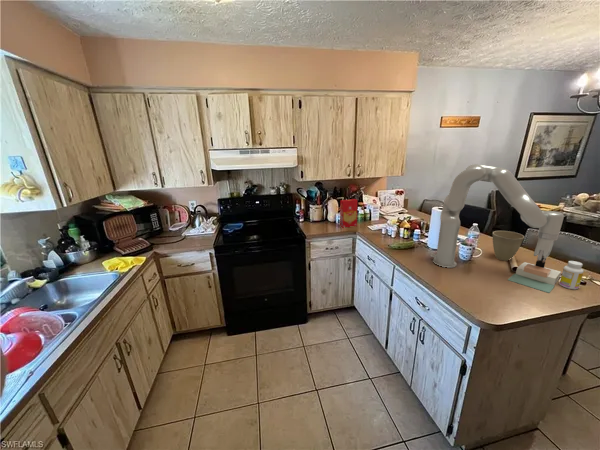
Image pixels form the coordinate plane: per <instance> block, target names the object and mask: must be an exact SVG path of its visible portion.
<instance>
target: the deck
mask: <svg viewBox="0 0 600 450" xmlns="http://www.w3.org/2000/svg"><path fill="white" fill-rule="evenodd" d="M527 264H531V265H535V264H533V263H530V262H526V261H524V262H523V263H521V264H520V265H519V266H518V267H517V268H516V271H515V274H517V275H521V276H524V277H527V278H531V279H534V280H538V281H541V282H544V283H548V284H551V285H555V284H557V282H558V281H559V280H560V278H561V275H562V271H560V270H556V269H552V268H549V267H545V266H544V268H546V269H550V270H551V272H550V275H549V276H548V277H547V278H545V277H542V276H538V275H535V274H531V273H528V272H524V267H525V266H526V265H527Z"/></svg>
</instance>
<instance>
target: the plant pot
mask: <svg viewBox="0 0 600 450" xmlns="http://www.w3.org/2000/svg"><path fill="white" fill-rule="evenodd" d="M524 240H525V236H524V235H523V234H521V233H518V232H515V231H510V230H509V231H508V230H495V231H492V246H493V253H494V256H495V258H496V259H497V260H499V261H505V262H508V260H509V259H510V258H512V257H513V258H514V257H515V255H516V254H517V252H518V251H519V250H520V247H521V245H522V243H523V241H524ZM513 258H512V259H513Z"/></svg>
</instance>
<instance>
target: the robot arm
mask: <svg viewBox="0 0 600 450" xmlns="http://www.w3.org/2000/svg"><path fill="white" fill-rule="evenodd" d="M480 181H481V182H488V183H492V184H493V185H494V186H495V188H496V189H498V191H499V193H500V194H501V195H502V197H503V198H504V199H505V200H506V201H507V203H508V204H509V205H510V206H512V207H513V209H515V210H516V211H517V213H519V215H520V219H521V221H522V222H523V223H525V224H526V225H527V226H528V227H530V228H532V229H538V231H537V236H536V237H537V239H538V240H537V243H536V246H535V249H534V252H533V257H537V258H536V262H535V264H534V265H535V266H539V267H542V268H544V267H545V264H546V260H547V258H548V257H549V256H550V255H551V252H552V249H553V246H554V242H555V241H558V239H559V235H560V232H561V228H562V225H563V221H564V217H565V216H564V213H562V212H560V211H556V210H555V211H554V210H553V211H552V210H547V211H545V210H541V208H540V207H539V206H538V204H537V203H536V202H535V201H534V199H532V198H531V196H530V194H528V192H527V191H526V190H525V189H524V187H523V186H522V185H521V184H520V182H519V181H518V180H517V178H516V176H514V174H513V173H512V172H511V171H510V170H509V169H507V168H504V167H499V166H498V167H497V166H490V165H484V164H478V163H477V164H476V163H474V164H473V163H472V164H470V165H468V166H467V167H466V168H465V169H464V170H463V171H461V172H460V173H458V174H457V175H456V176H455V178H454V179H453V181H452V184H451V187H450V191H449V193H448V195H446V196H445V197H444V198H445V199H444V203H443V204H442V209H441V212H440V219H439V220H440V225H439V227H440V228H439V233H438V240H437V241H438V242H437V249H436V253H435V252H430V254H429V255H430V258H433V259H432V263H433V262H434V263H435V264H437V265H439V266H438V267H440V266H442V267H441V268H445V267H447V268H446V269H453V268H456V267H457V262H456V261H455V257H456V250H457V243H458V237H459V231H460V228H461V220H460V213H461V211H462V210H463V208H464V207H465V205H466V199H467V196H468V194H469V192H470V191H469V190H470V188H471V186H472V185H473V184H474V183H476V182H480ZM434 263H433V264H434ZM435 264H434V265H435ZM437 265H436V266H437Z"/></svg>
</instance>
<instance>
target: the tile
mask: <svg viewBox="0 0 600 450" xmlns="http://www.w3.org/2000/svg"><path fill="white" fill-rule="evenodd" d="M531 264H532V263H530V264H527V265H526V266H525V267H524V272H528V273H531V274H535V275H538V276H542V277H545V278H547V277H548V276H549V275H550V272H551V270H550V269H551V268H549V269H546V268H547V267H545V268H542V267H539V266H535V265H536V264H534V265H531Z"/></svg>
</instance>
